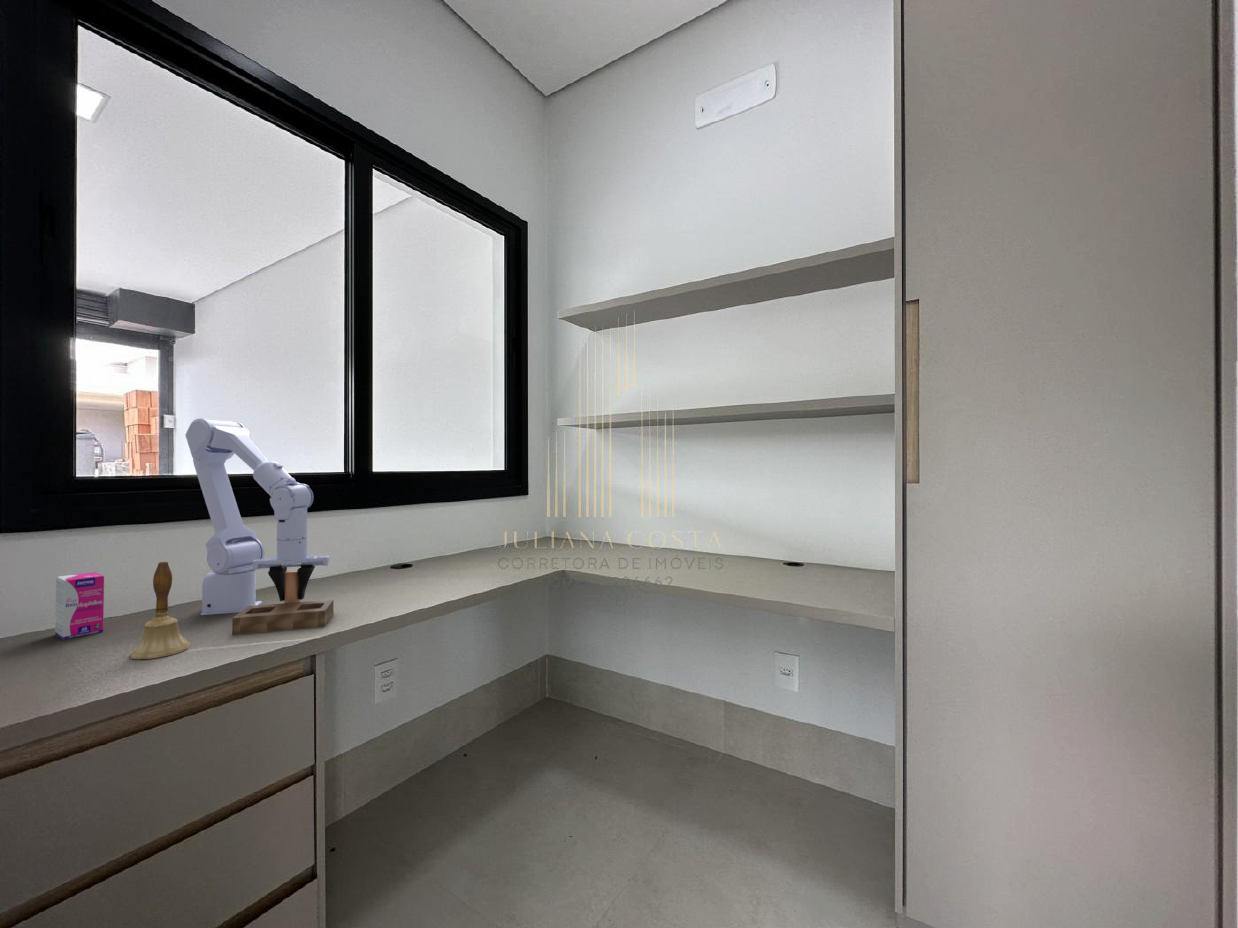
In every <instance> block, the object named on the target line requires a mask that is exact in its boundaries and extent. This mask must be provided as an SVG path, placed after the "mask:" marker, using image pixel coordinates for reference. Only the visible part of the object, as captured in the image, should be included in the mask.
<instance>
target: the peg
mask: <svg viewBox="0 0 1238 928" xmlns="http://www.w3.org/2000/svg"><path fill="white" fill-rule="evenodd" d="M298 592H299V579H298V570H289V571H287V572H285V573H284V601H283V603H295V602H301V600H299V599H298Z"/></svg>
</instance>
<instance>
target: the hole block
mask: <svg viewBox="0 0 1238 928" xmlns="http://www.w3.org/2000/svg"><path fill="white" fill-rule="evenodd" d="M333 616H334V599H325V600H312V601H310V600H309V601H300V602H295V603H284V602H283V603H273V604H271V603H270V604H260V605H255V606H248V607H246V608H245V609H244V610H242V611H241V612H237V613H236V614H235V615H234V616H233V617H232V618H231V619H232V621H231V622H232V624H231V625H232V626H231V627H232V628H231V629H232V631H231V633H232V636H234V635H244V634H246V635H247V634H256V633H265V632H277V631H278V632H279V631H280V632H281V631H289V630H300V629H312V628H313V629H314V628H321V627H322V628H323V627H326V626H327V625H328V623H329V622H330V620H331V618H332V617H333Z"/></svg>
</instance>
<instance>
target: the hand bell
mask: <svg viewBox="0 0 1238 928" xmlns="http://www.w3.org/2000/svg"><path fill="white" fill-rule="evenodd" d="M156 566H157V567H156V569H155V571H154V574H153V576H152V577H153V579H152V586H153V587H152V588H153V591H154V593H155V598H156V602H155V615H154V618H152V619H151V620H149V621H147V622H146V623H145V624H144V629H143V632H142V637H141V639H140V642H139V643H138V645H137V646H136V647H135V648H134V649H133V650H132V651H131V652H130V654H129V658H131V659H133V660H149V659H150V660H151V659H158V658H163V657H165V658H166V657H168V656H173V655H177V654H180V653H182V652H185V651H187V650H188V649H189V648H190V647H191V646H192V645H191V643H190V642H189V641H188V640H187V639H185V638H184V636H183V635H182V633H181V631H180V627H179V621H178V619H177V618H176V617H172V616H169V613H168V611H169V601H168V600H169V594H170V591H171V588H172V584H173V574H172V570H171V567H170V566H169V562H168V561H160V562H158V565H156Z"/></svg>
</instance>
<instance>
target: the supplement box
mask: <svg viewBox="0 0 1238 928" xmlns="http://www.w3.org/2000/svg"><path fill="white" fill-rule="evenodd" d="M104 600H105V576H104V575H103V574H100V573H98V572H96V571H94V572H86V573H85V572H83V573H77V574H76V573H75V574H68V575H60V576H56V577H55V609H54V610H55V611H54V614H55V615H54V635H55V636H57V637H58V638H59V639H61V640H62V641H63V640H68V639H71V638H77V637H83V636H88V635H93V634H99V633H103V632H104V618H105V617H104V615H105V613H104V610H105V609H104V608H105V607H104V605H105V603H104V602H105V601H104Z"/></svg>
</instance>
